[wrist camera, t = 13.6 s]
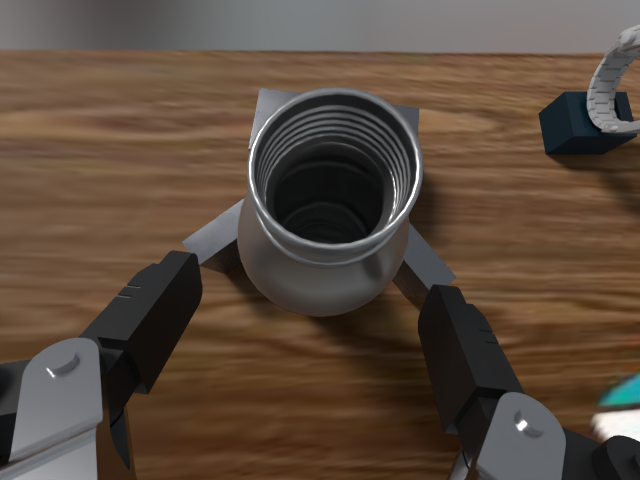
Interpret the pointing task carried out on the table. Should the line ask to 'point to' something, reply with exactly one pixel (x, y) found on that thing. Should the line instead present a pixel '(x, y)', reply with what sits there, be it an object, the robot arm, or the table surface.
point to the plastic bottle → (329, 201)
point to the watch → (595, 107)
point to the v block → (221, 234)
